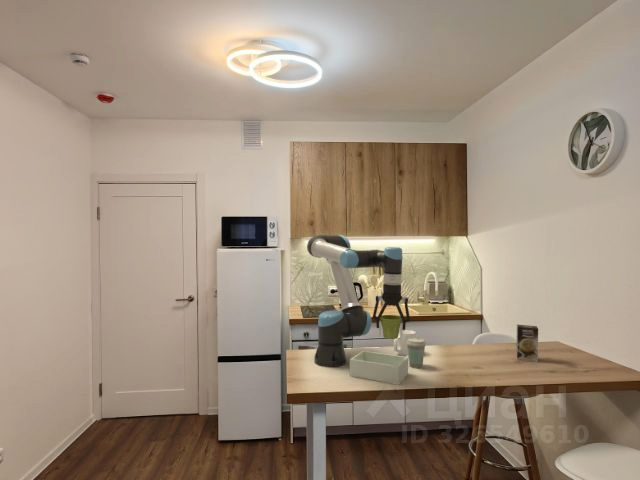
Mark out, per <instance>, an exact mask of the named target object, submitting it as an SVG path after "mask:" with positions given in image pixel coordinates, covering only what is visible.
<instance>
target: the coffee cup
mask: <svg viewBox="0 0 640 480" xmlns="http://www.w3.org/2000/svg"><path fill="white" fill-rule="evenodd" d="M407 347H408V356H407V357H408V367H410V368H412V369H413V368H414V369H420V368H423V366H424V365H423V364H424V357H425V348H426V341H425V339H423V338H419V337H417V338H409V339H408V340H407Z"/></svg>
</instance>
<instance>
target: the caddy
mask: <svg viewBox="0 0 640 480" xmlns="http://www.w3.org/2000/svg"><path fill="white" fill-rule="evenodd" d="M408 374H409V357H408V356H404V355H396V354H388V353H381V352H376V351H375V352H374V351H367V350H361V351H360V352H359V353H357V354H356V355H354V356H352V357H351V358H350V359H349V377H354V378H359V379H365V380H370V381H376V382H382V383H388V384H393V385H399V384H400V383H402V381H403V380H404V378H406V377H407V375H408Z"/></svg>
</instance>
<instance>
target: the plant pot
mask: <svg viewBox="0 0 640 480" xmlns="http://www.w3.org/2000/svg"><path fill="white" fill-rule="evenodd" d="M380 320H381V329H382V334H383V338H384V339H390V340H394V339H397V338H398V334H399V330H400V329H401V321H402V319H401V317H400V315H396V314H395V315H394V314H382V316H381V317H380Z"/></svg>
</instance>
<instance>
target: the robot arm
mask: <svg viewBox="0 0 640 480" xmlns="http://www.w3.org/2000/svg"><path fill="white" fill-rule="evenodd" d="M306 250H307V252H308V254H309V255H310V256H312V257H314V258H317V259H321V258H323V259H325V260H326V262H327V264H329V265H330V267H331V271H332V274H333V279H334V283H335V286H336V290H337V293H338V299H339V302H340V305H341V309H340V310H339V309H335V310H326V311H323V312H320V314H319V315H318V322H317V327H318V329H317V335H318V338H317V342H318V344H317V348H316V351H315V355H314V363H315V364H316V365H318V366H322V367H329V368H330V367H340V366H344V365H346V364H347V362H348V361H347V354H346V350H345V347H344V339H345V338H347V339H348V338H355V337H361V336H366V335H368V333H369V332H370V330H371V328H372V319H373V320H375V321H376V323H375V324H376V325H375V326H376V329H378V337H379V338H380V337H381V336H382V321H381V318H380V317H381V316H382V315H384V312H385V311H386V308H387V306H392V307H396V309H397V312H398V313H399V316H400V317H401V319H402V320H401V323H400V330H401V332H400V338H402V330H406V324H407V322H408V323H409V322H410V321H411V317H410V311H409V304H408V303H409V298H408V297H405V296H403V295H402V285H401V284H402V277H403V274H402V272H403V258H404V257H403V249H402V247H400V246H399V247H397V246H396V247H395V246H386V247H384V250H380V249H369V250H368V249H367V250H366V249H365V250H358V249H357V250H355V249H352V248H351V243H350V240H349V239H348V238H347V237H346V236H345V235H339V234H335V235H333V234H329V235H328V234H318V235H315V236H312V237H311V238H310V239H308V242H307V245H306ZM363 268H365V269H367V268H381V269H383V284H382V285H383V287H382V295H375V305H374V309H373V313H372V316H371V314H370V313H369V312H368V311H367V310H364V306H363V305H362V304H360V303H359V299H358V296H357V293H356V289H355V286H354V282H353V278H352V275H351V271H350V269H363ZM381 300H382V301H383V302H384V303H383V305H382V307H381V310H380V311H379V313H378V308H379V304H380V302H381ZM401 301H402V303H404V308H405V310H404V311H405V315H406V318H405V315H404V313H403V311H402V308H401V306H400V303H401ZM377 313H378V315H377Z"/></svg>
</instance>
